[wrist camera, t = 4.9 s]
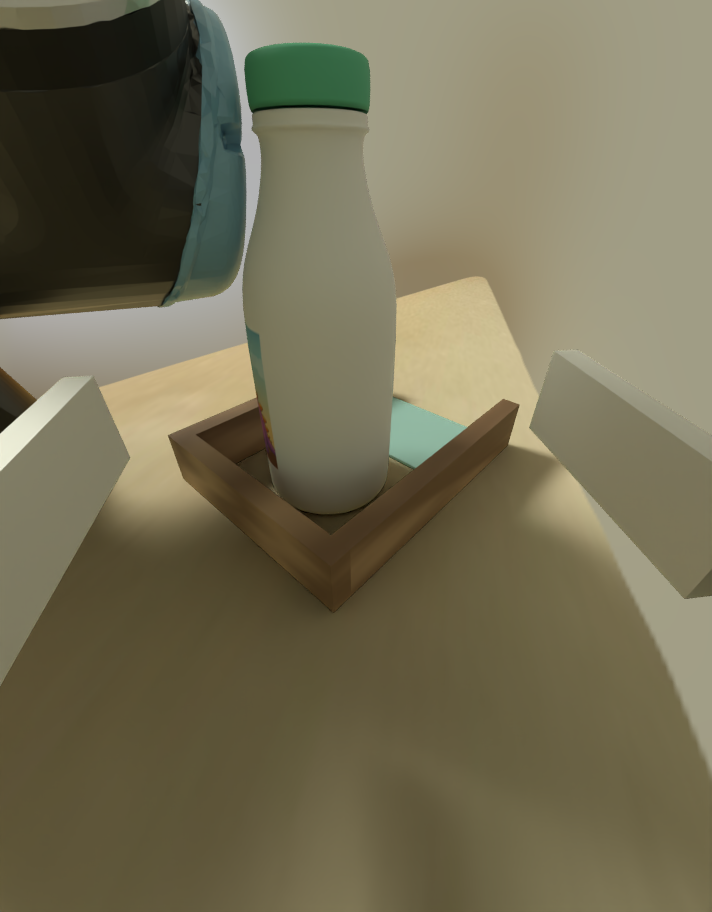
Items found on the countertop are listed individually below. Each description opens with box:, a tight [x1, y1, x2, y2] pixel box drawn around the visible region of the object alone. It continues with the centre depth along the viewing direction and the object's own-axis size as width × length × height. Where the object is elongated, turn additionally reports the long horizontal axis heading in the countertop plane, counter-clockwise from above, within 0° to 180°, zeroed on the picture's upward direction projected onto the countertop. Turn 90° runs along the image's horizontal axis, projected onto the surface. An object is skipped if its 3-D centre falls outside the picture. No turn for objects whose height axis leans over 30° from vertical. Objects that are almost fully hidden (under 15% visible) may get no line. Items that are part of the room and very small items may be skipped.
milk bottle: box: [242, 43, 396, 514], centre depth 20 cm, size 8×8×20 cm
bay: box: [168, 398, 519, 613], centre depth 26 cm, size 14×18×4 cm
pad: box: [389, 397, 467, 469], centre depth 30 cm, size 11×7×1 cm, turn 47°
